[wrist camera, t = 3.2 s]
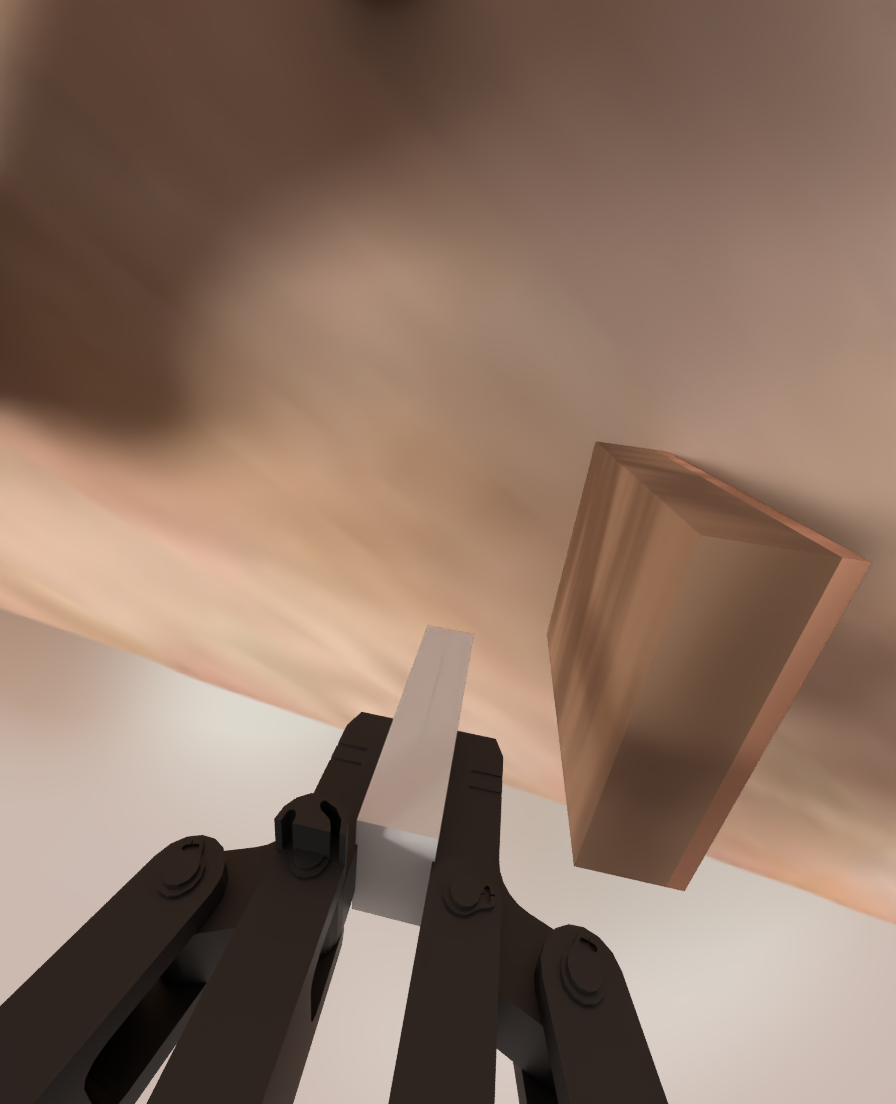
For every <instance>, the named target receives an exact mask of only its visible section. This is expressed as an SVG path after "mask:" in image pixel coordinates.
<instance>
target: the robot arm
mask: <svg viewBox="0 0 896 1104" xmlns="http://www.w3.org/2000/svg"><path fill="white" fill-rule="evenodd" d="M473 637H474V634H471V633H466V632H461V631H456V630H450V629H445V628H440V627H434V626H429V625H427V628H426V631H425V634H424V636H423V639H422V642H421V645H420V647H419V650H418V653H417V656H416V658H415V661H414V664H413V667H412V669H411V672H410V675H409V678H408V680H407V683H406V686H405V689H404V691H403V694H402V697H401V700H400V702H399V705H398V708H397V711H396V713H395V716H394V719H393V718H388V717H384V716H379V715H374V714H369V713H365V712H361V713H360V714H359V715H358V716H357V717H356V718H354V719H353V720H352V721H351V722H350V723H349V724H348V725H347V726H346V728H345V730H344V732H343V734H342V736H341V738H340V741H339V743H338V746H336V749H335V751H334V753H333V755H332V757H331V760H330V761H329V763H328V765H327V767H326V769H325V771H324V773H323V775H322V777H321V779H320V781H319V784H318V785H317V788H316V789H315V792H314V793H310V794H307V795H304V796H301V797H297V798H296V799H294V800H293V801H291V802H290V803H288V804H287V805H285V806H284V807H283V808H282V810H281V811H280V812H279V814H278V815H277V816H276V817H275V819H274V821H275V838H276V841H275V842H273V843H270V844H268V845H264V846H259V847H254V848H246V849H237V850H228V851H224V849H223V847H222V846H221V845H220V844H219V842H218V841H217V840H216V839H214V838H211V837H207V836H204V835H198V836H190V837H185V838H183V839H181V840H178V841H176V842H174V843H171V844H170V845H169V846H167V847H166V848H164V849H163V850H162V851H161V852H159V853H158V854H157V855H155V856H154V857H153V858H152V859H151V860H150V861H149V862H148V863H147V864H146V865H145V866H144V867H143V868H142V869H141V870H140V871H139V872H138V873H137V874H136V875H135V876H134V877H133V878H132V879H131V880H130V881H129V882H128V883H126V885H125V886H123V887H122V889H120V890H119V891H118V892H117V893H116V894H115V895H114V896H113V897H112V898H111V899H110V900H109V901H108V902H107V903H106V904H105V905H104V906H103V907H102V908H101V909H100V910H99V911H98V912H97V913H96V914H95V915H94V916H93V917H91V918H90V919H89V920H88V921H87V923H85V924H84V925H83V926H82V927H81V928H80V929H79V930H78V931H77V932H76V933H75V934H74V935H73V936H72V937H71V938H70V939H69V940H68V941H67V942H66V943H65V944H64V945H63V946H62V947H61V948H60V949H59V950H58V951H57V952H56V953H55V954H53V955H52V956H51V957H50V958H49V959H48V960H47V961H46V962H45V963H44V964H43V965H42V966H41V967H40V968H39V969H38V970H37V971H36V972H35V973H34V974H33V975H32V976H31V977H30V978H29V979H28V980H27V981H26V982H25V983H24V984H23V985H22V986H20V987H19V988H18V989H17V990H16V991H15V992H14V993H13V994H12V995H11V996H10V997H9V998H8V999H7V1000H6V1001H5V1002H4V1003H3V1004H2V1005H1V1006H0V1104H135V1103H136V1101H137V1100H138V1098H139V1097H140V1095H141V1094H142V1093H143V1091H144V1090H145V1088H146V1087H147V1085H148V1084H149V1082H150V1081H151V1079H152V1078H153V1077H154V1075H155V1074H156V1073H157V1071H158V1070H159V1068H160V1066H161V1065H162V1064H163V1062H164V1061H165V1060H166V1058H167V1057H168V1055H169V1054H170V1052H171V1051H172V1050H173V1048H174V1047H175V1045H176V1044H177V1045H176V1047H175V1049H174V1051H173V1053H172V1055H171V1057H170V1059H169V1060H168V1062H167V1064H166V1066H165V1069H164V1070H163V1072H162V1074H161V1076H160V1079H159V1080H158V1082H157V1084H156V1086H155V1088H154V1090H153V1092H152V1094H151V1096H150V1098H149V1100H148V1102H147V1104H293V1102H294V1099H295V1096H296V1092H297V1089H298V1086H299V1083H300V1079H301V1076H302V1073H303V1069H304V1066H305V1063H306V1060H307V1057H308V1053H309V1050H310V1047H311V1044H312V1040H313V1037H314V1034H315V1030H316V1027H317V1024H318V1021H319V1017H320V1014H321V1011H322V1008H323V1005H324V1001H325V998H326V995H327V991H328V988H329V985H330V982H331V978H332V975H333V972H334V969H335V966H336V962H337V959H338V956H339V952H340V949H341V946H342V940H343V933H344V924H345V921H346V918H347V914H348V911H349V908H350V905H351V901H352V909H355V910H359V911H363V912H367V913H371V914H375V915H379V916H383V917H386V918H390V919H394V920H399V921H402V922H406V923H410V924H414V925H418V926H420V932H419V937H418V943H417V948H416V954H415V960H414V965H413V971H412V976H411V982H410V987H409V993H408V998H407V1004H406V1010H405V1015H404V1021H403V1027H402V1032H401V1037H400V1043H399V1048H398V1054H397V1060H396V1065H395V1070H394V1076H393V1082H392V1087H391V1092H390V1098H389V1104H494V1102H495V1073H496V1048H497V1049H498V1050H499V1051H501V1052H502V1053H503V1054H504V1055H506V1056H507V1057H508V1058H509V1059H510V1060H512V1061H513V1064H514V1070H515V1077H516V1084H517V1090H518V1097H519V1104H668V1102H667V1099H666V1096H665V1093H664V1090H663V1088H662V1085H661V1082H660V1079H659V1076H658V1073H657V1070H656V1068H655V1065H654V1062H653V1059H652V1056H651V1053H650V1051H649V1048H648V1045H647V1042H646V1039H645V1036H644V1033H643V1030H642V1028H641V1025H640V1022H639V1019H638V1016H637V1013H636V1010H635V1008H634V1005H633V1002H632V999H631V996H630V993H629V991H628V987H627V985H626V982H625V979H624V976H623V973H622V971H621V969H620V967H619V965H618V963H617V961H616V959H615V957H614V955H613V953H612V952H611V950H610V949H609V948H608V947H607V946H606V945H605V944H604V942H603V941H602V940H601V939H600V938H599V937H598V936H596V935H595V934H593V933H592V932H590V931H589V930H587V929H586V928H584V927H580V926H575V925H569V924H568V925H565V926H561V927H558V928H555V929H552V928H551V927H549V926H547V925H546V924H544V923H543V922H541V921H540V920H538V919H537V918H535V917H534V916H532V915H530V914H529V913H528V912H527V911H525V910H524V909H523V908H522V907H520V906H519V905H518V904H517V903H516V901H515V900H514V899H513V898H512V896H511V895H510V894H509V892H508V890H507V888H506V886H505V885H504V883H503V880H502V876H501V873H500V866H499V847H500V823H501V799H502V797H501V794H502V775H503V755H502V753H501V751H500V748H499V746H498V743H497V741H496V739H494V738H489V737H484V736H480V735H475V734H470V733H465V732H461V731H457V729H458V724H459V718H460V712H461V706H462V700H463V695H464V689H465V683H466V677H467V672H468V666H469V660H470V654H471V648H472V643H473Z"/></svg>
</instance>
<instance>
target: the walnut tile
mask: <svg viewBox="0 0 896 1104" xmlns="http://www.w3.org/2000/svg"><path fill="white" fill-rule="evenodd" d="M871 563H872V562H870V561H868V560H867V559H865V558H863V557H861V556H859V555H857V554H855V553H854V552H852V551H850V550H848V549H846V548H844V547H842V546H841V545H839V544H837V543H835V542H833V541H831V540H829V539H828V538H826V537H824V536H822V535H820V534H818V533H817V532H815V531H813V530H811V529H809V528H807V527H805V526H804V525H802V524H800V523H798V522H796V521H794V520H792V519H791V518H789V517H787V516H785V515H783V514H781V513H779V512H778V511H776V510H774V509H772V508H770V507H768V506H766V505H765V504H763V503H761V502H759V501H757V500H755V499H753V498H752V497H750V496H748V495H746V494H744V493H742V492H740V491H739V490H737V489H735V488H733V487H731V486H729V485H728V484H726V483H724V482H722V481H720V480H718V479H716V478H715V477H713V476H711V475H709V474H707V473H705V472H703V471H702V470H700V469H698V468H696V467H694V466H692V465H690V464H689V463H687V462H685V461H683V460H681V459H679V458H677V457H676V456H674V455H672V454H670V453H668V452H665V451H658V450H651V449H644V448H637V447H630V446H623V445H616V444H609V443H602V442H596V443H595V447H594V451H593V455H592V459H591V463H590V466H589V470H588V474H587V478H586V482H585V486H584V490H583V494H582V498H581V502H580V506H579V510H578V514H577V518H576V522H575V526H574V529H573V533H572V537H571V541H570V545H569V549H568V553H567V557H566V561H565V565H564V569H563V573H562V577H561V581H560V585H559V589H558V592H557V596H556V600H555V604H554V608H553V612H552V616H551V620H550V624H549V628H548V632H547V638H548V647H549V656H550V664H551V673H552V681H553V690H554V698H555V707H556V716H557V724H558V733H559V741H560V750H561V759H562V767H563V776H564V784H565V793H566V801H567V810H568V818H569V827H570V836H571V844H572V853H573V862H574V866H576V867H580V868H585V869H590V870H594V871H598V872H603V873H607V874H611V875H616V876H620V877H624V878H629V879H634V880H638V881H642V882H646V883H651V884H655V885H660V886H664V887H668V888H673V889H677V890H682V891H685V889H686V887H687V886H688V884H689V882H690V881H691V879H692V877H693V875H694V874H695V872H696V870H697V868H698V867H699V865H700V863H701V861H702V860H703V858H704V856H705V854H706V853H707V851H708V849H709V847H710V846H711V844H712V842H713V840H714V839H715V837H716V835H717V833H718V832H719V830H720V828H721V826H722V825H723V823H724V821H725V819H726V818H727V816H728V814H729V812H730V810H731V809H732V807H733V805H734V803H735V802H736V800H737V798H738V796H739V795H740V793H741V791H742V789H743V788H744V786H745V784H746V782H747V781H748V779H749V777H750V775H751V774H752V772H753V770H754V768H755V767H756V765H757V763H758V761H759V760H760V758H761V756H762V754H763V753H764V751H765V749H766V747H767V746H768V744H769V742H770V740H771V739H772V737H773V735H774V733H775V732H776V730H777V728H778V726H779V724H780V723H781V721H782V719H783V717H784V716H785V714H786V712H787V710H788V709H789V707H790V705H791V703H792V702H793V700H794V698H795V696H796V695H797V693H798V691H799V689H800V688H801V686H802V684H803V682H804V681H805V679H806V677H807V675H808V674H809V672H810V670H811V668H812V667H813V665H814V663H815V661H816V660H817V658H818V656H819V654H820V653H821V651H822V649H823V647H824V645H825V644H826V642H827V640H828V638H829V637H830V635H831V633H832V631H833V630H834V628H835V626H836V624H837V623H838V621H839V619H840V617H841V616H842V614H843V612H844V610H845V609H846V607H847V605H848V603H849V602H850V600H851V598H852V596H853V595H854V593H855V591H856V589H857V588H858V586H859V584H860V582H861V581H862V579H863V577H864V575H865V574H866V572H867V570H868V568H869V567H870V565H871Z"/></svg>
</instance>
